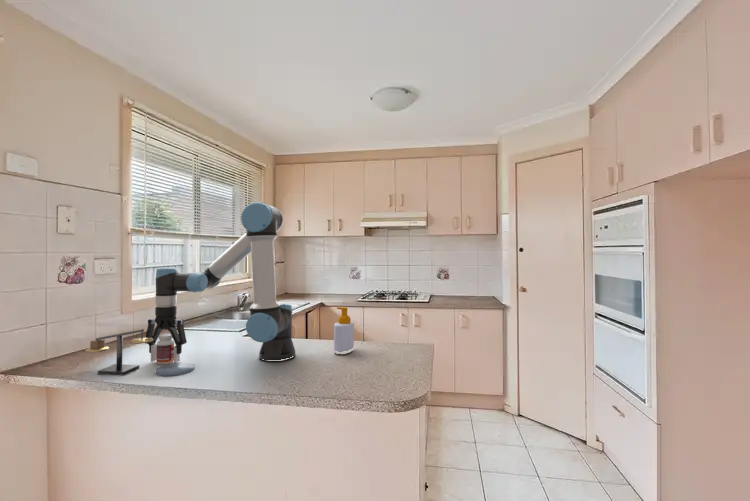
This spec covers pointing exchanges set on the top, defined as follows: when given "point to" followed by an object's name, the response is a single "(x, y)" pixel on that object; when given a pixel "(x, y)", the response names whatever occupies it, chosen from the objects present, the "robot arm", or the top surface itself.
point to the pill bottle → (165, 349)
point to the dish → (174, 369)
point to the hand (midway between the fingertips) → (165, 361)
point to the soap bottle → (343, 332)
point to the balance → (118, 367)
